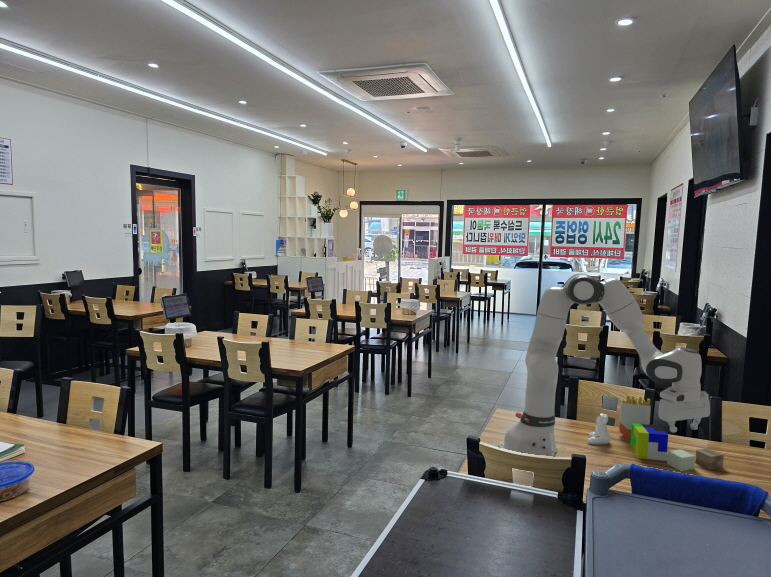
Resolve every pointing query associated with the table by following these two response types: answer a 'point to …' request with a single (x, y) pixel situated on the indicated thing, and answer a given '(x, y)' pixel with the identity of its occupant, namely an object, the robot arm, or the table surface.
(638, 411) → the french fries container
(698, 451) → the brick
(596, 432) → the white creature statuette
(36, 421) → the table surface
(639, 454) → the puzzle toy
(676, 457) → the brick
